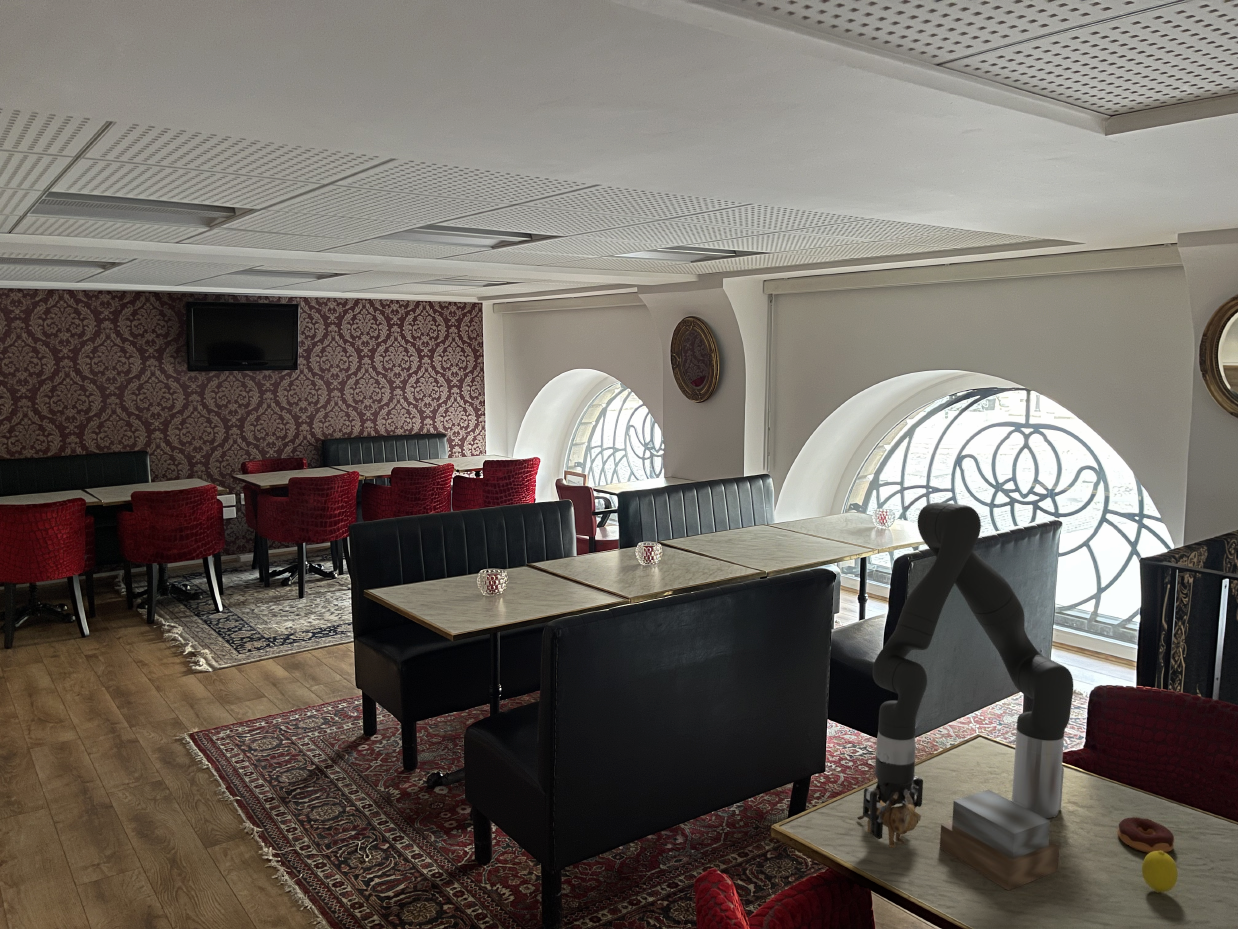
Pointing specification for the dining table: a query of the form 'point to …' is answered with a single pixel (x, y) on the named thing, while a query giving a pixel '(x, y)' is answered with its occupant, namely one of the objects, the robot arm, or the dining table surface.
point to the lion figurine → (897, 821)
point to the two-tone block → (1000, 839)
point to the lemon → (1159, 871)
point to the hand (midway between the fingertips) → (891, 832)
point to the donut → (1145, 835)
